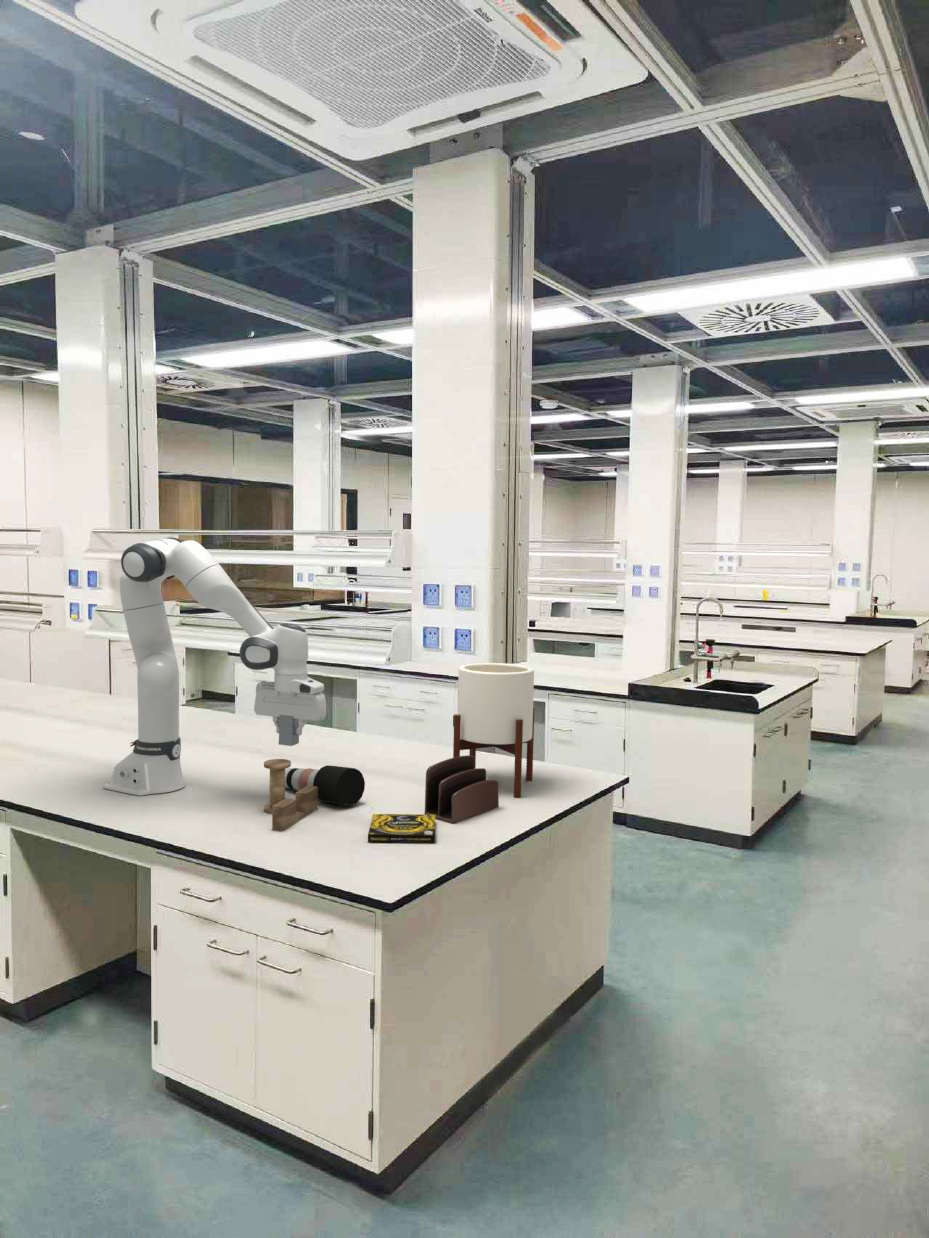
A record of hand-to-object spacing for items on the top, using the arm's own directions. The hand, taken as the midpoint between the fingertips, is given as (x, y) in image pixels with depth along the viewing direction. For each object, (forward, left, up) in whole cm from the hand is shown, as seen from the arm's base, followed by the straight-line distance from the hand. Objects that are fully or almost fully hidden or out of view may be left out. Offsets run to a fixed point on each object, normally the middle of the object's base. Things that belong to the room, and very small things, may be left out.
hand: (289, 733), depth 229 cm
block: (0, 0, -3) cm, 3 cm away
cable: (+3, +9, -20) cm, 22 cm away
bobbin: (0, -7, -19) cm, 20 cm away
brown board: (+8, -12, -19) cm, 24 cm away
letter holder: (+47, +9, -20) cm, 52 cm away
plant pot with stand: (+49, +36, -20) cm, 64 cm away
